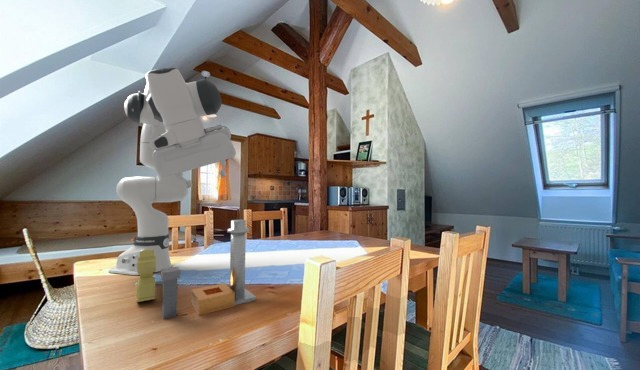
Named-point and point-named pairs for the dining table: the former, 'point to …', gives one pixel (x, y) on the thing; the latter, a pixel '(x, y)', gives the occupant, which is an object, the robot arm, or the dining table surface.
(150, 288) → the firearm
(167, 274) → the grey square peg
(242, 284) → the metal post on base
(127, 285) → the dining table surface
